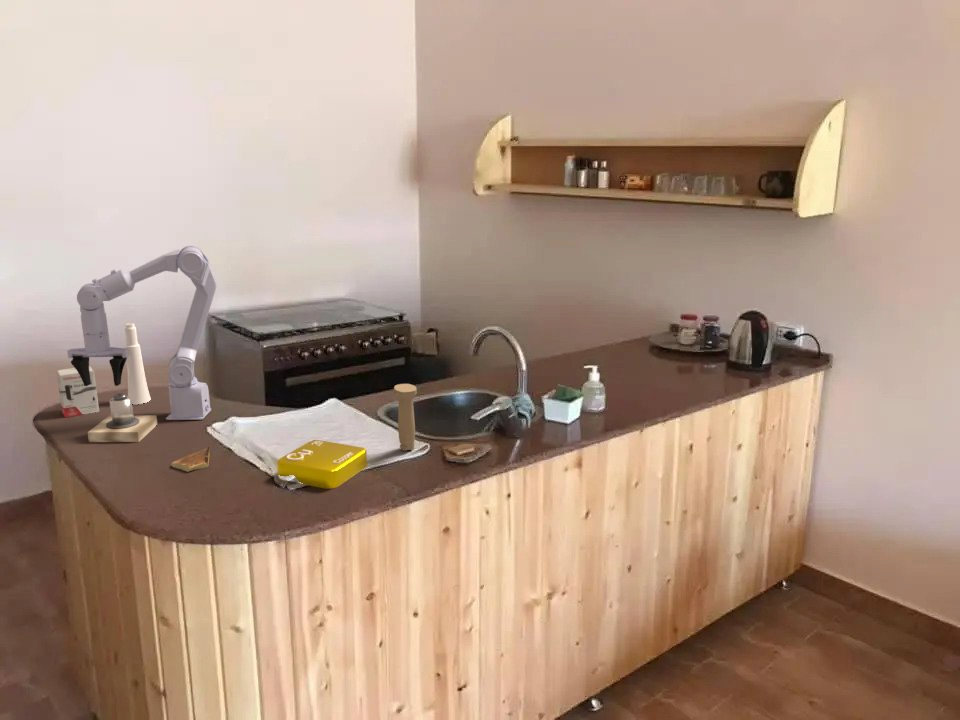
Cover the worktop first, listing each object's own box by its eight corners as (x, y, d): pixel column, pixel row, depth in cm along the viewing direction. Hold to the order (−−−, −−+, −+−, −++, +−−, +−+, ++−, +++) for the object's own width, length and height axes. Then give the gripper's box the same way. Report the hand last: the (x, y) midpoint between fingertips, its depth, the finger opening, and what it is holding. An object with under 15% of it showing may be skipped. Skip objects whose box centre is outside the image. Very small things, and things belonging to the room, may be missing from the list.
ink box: (64, 418, 218) (58, 374, 214) (62, 413, 222) (55, 370, 218) (100, 412, 222) (94, 369, 219) (96, 407, 226) (90, 365, 223)
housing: (136, 418, 209) (133, 391, 207) (130, 425, 204) (127, 397, 202) (116, 419, 208) (112, 392, 206) (109, 425, 203) (105, 398, 202)
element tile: (333, 492, 173) (331, 470, 172) (274, 480, 179) (272, 459, 178) (370, 466, 187) (369, 445, 185) (314, 456, 192) (313, 436, 191)
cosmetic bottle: (128, 399, 233) (118, 322, 227) (151, 397, 234) (142, 320, 228) (126, 405, 227) (116, 327, 221) (150, 403, 229) (141, 325, 223)
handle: (413, 443, 199) (411, 382, 195) (421, 452, 193) (419, 390, 189) (393, 445, 197) (391, 385, 193) (400, 455, 191) (398, 393, 187)
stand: (157, 424, 212) (156, 414, 212) (138, 441, 201) (137, 430, 200) (110, 425, 212) (108, 414, 212) (88, 442, 201) (87, 431, 200)
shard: (209, 452, 195) (208, 445, 194) (232, 459, 191) (231, 451, 190) (170, 468, 186) (169, 461, 186) (193, 475, 182) (192, 467, 182)
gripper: (58, 336, 203) (66, 389, 207) (118, 336, 203) (125, 389, 207) (72, 329, 210) (79, 381, 213) (129, 329, 210) (136, 381, 213)
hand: (102, 384), depth 210 cm, fingers open, 7 cm apart
